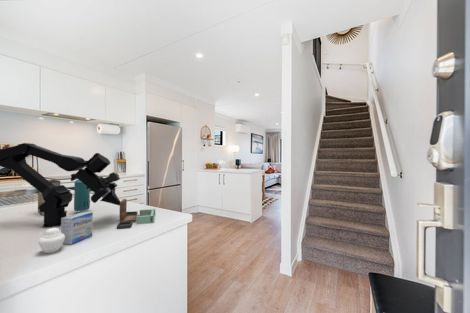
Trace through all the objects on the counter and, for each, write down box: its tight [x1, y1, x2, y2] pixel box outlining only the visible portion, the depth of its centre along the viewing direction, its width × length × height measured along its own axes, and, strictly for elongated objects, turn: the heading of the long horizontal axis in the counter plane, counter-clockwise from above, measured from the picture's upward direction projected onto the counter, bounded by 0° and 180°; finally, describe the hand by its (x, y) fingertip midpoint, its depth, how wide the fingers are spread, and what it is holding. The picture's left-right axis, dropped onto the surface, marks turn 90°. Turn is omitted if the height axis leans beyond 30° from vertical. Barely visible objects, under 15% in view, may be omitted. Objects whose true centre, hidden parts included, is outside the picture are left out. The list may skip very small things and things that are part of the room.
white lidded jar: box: [37, 227, 65, 254], centre depth 62 cm, size 6×6×7 cm
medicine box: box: [60, 211, 94, 246], centre depth 70 cm, size 8×4×9 cm, turn 168°
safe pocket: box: [135, 208, 156, 225], centre depth 94 cm, size 7×12×3 cm, turn 19°
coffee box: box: [37, 178, 61, 217], centre depth 100 cm, size 9×6×16 cm
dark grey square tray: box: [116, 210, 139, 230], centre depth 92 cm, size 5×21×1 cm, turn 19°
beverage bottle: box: [73, 179, 91, 212], centre depth 102 cm, size 6×7×20 cm
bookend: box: [118, 198, 149, 223], centre depth 92 cm, size 11×7×9 cm, turn 109°
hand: (120, 204), depth 90 cm, fingers closed, pressing on bookend
